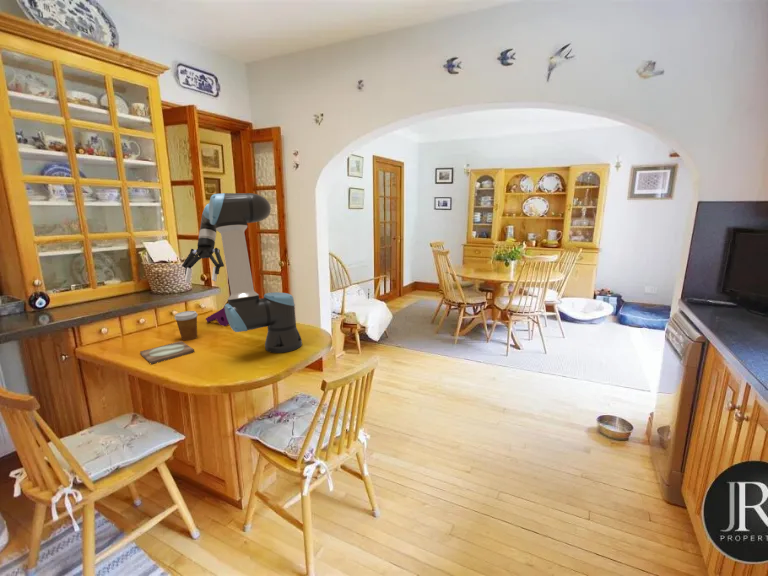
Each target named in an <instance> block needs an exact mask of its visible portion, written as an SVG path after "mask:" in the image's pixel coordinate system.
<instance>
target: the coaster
mask: <svg viewBox="0 0 768 576" xmlns="http://www.w3.org/2000/svg"><path fill="white" fill-rule="evenodd" d="M193 352H194V353H195V349H194V348H192V347H191V346H189V345H188V344H187V343H185V342H184V341H183V340H179V341H175V342H172V343H168V344H165V345H160V346H157V347H152V348H149V349H145V350H141V351H139V354H140V356H142V357H143V358H144V359H145V360H146V361H147V362H148V361H149V362H150V363H151V364H150V363H149V362H148V363H149V364H150V365H154V364H153V363H155V364H157V362H158V363H161V361H162V362H165V361H168V359H169V360H171V359H175V357H176V358H178V357H183V356H186V355H190V354H192V353H193ZM194 353H193V354H194ZM182 355H183V356H182ZM164 360H165V361H164Z"/></svg>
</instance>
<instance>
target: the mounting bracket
mask: <svg viewBox="0 0 768 576" xmlns="http://www.w3.org/2000/svg"><path fill="white" fill-rule="evenodd" d="M205 320H206V323H210V322H212V321H217V323H218V324H219V326H221V325H222V326H221V327H226V326H230V325H229V323H228V320H227V317H226V314H225V308H224V307H223V308H222V309H220V310H217V311H216V312H214V313H213V314H211V315H209V316H207V317H206V318H205Z"/></svg>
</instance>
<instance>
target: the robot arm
mask: <svg viewBox="0 0 768 576" xmlns="http://www.w3.org/2000/svg"><path fill="white" fill-rule="evenodd" d="M271 208H272V207H271V204H270V202H269V201H268V200H267V198H265V197H264V196H262V195H260V194H257V193H252V192H251V193H250V192H247V193H239V192H238V193H235V192H231V193H230V192H228V193H227V192H226V193H225V192H222V193H214V194H212V195H211V196H210V198H209V203H207V204H206V205H205V207H204V208H203V211H202V214H201V220H200V227H199V232H198V233H199V234H198V239H197V248H196V249H194V248H190V251H189V254H188V255H187V257H186V259H184V261H183V263H182V265H181V267H183V268H184V269H185V270H184V275H185V278H184V281H185V282H187V283H191V278H192V272H193V270H192V267H193V266H194V265H196V264H197V262H199V261H200V260H201V259H209V260H210V261H211V263H213V265H214V266H213V268H212V273H211V280H212V281H213V282H217V279H218V275H219V274H220V269H221V268H224V267H225V265H226V272H227V277H228V284H229V291H230V295H229V297H227V302H228V303H226V304H225V305H224V307H223V308H225V314H226V317H227V320H228V323H229V325H228V326H229V327H230V328H231V331H233V332H235V333H239V332H240V333H241V332H248V331H251V330H255V329H261V328H266V327H267V333H266V339H265V343H264V347H265V350H266V351H267V352H268V353H275V354H278V353H289V352H292V351H295V350H297V349H300V347H302V345H303V342H302V340H303V339H302V336H301V335H300V333H299V331H298V328H297V323H296V322H297V319H296V318H297V317H296V307H295V306H296V304H295V300H294V295H292V294H290V293H286V292H275V291H274V292H266V293H264V295H263V297H262V298H260V294H259V293H257V291H255V289H254V284H253V276H252V272H251V266H250V259H249V253H248V246H247V241H246V235H245V231H246V230H247V228H248V224H253V223H259V222H262V221H264V220H265V219H267V218H268V217H269V216H270V215H271V211H272V210H271ZM217 232H219V233H220V236H221V241H222V248H223V254H224V260H225V263H224V262H223V259H222V256H221V252H220V249H219V248H218V247H215V246H216V236H217ZM213 254H215V257H216V259H215V257H214V255H213Z"/></svg>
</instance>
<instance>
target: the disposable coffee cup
mask: <svg viewBox="0 0 768 576" xmlns="http://www.w3.org/2000/svg"><path fill="white" fill-rule="evenodd" d="M174 319H175V321H176V325H177V327H178V330H179V334H180V337H181V339H182V340H181V341H192V340H194V339H197V338H198V321H197V320H198V313H197V311H195V310H186V311H181V312H178V313H176V314H175V315H174Z"/></svg>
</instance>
